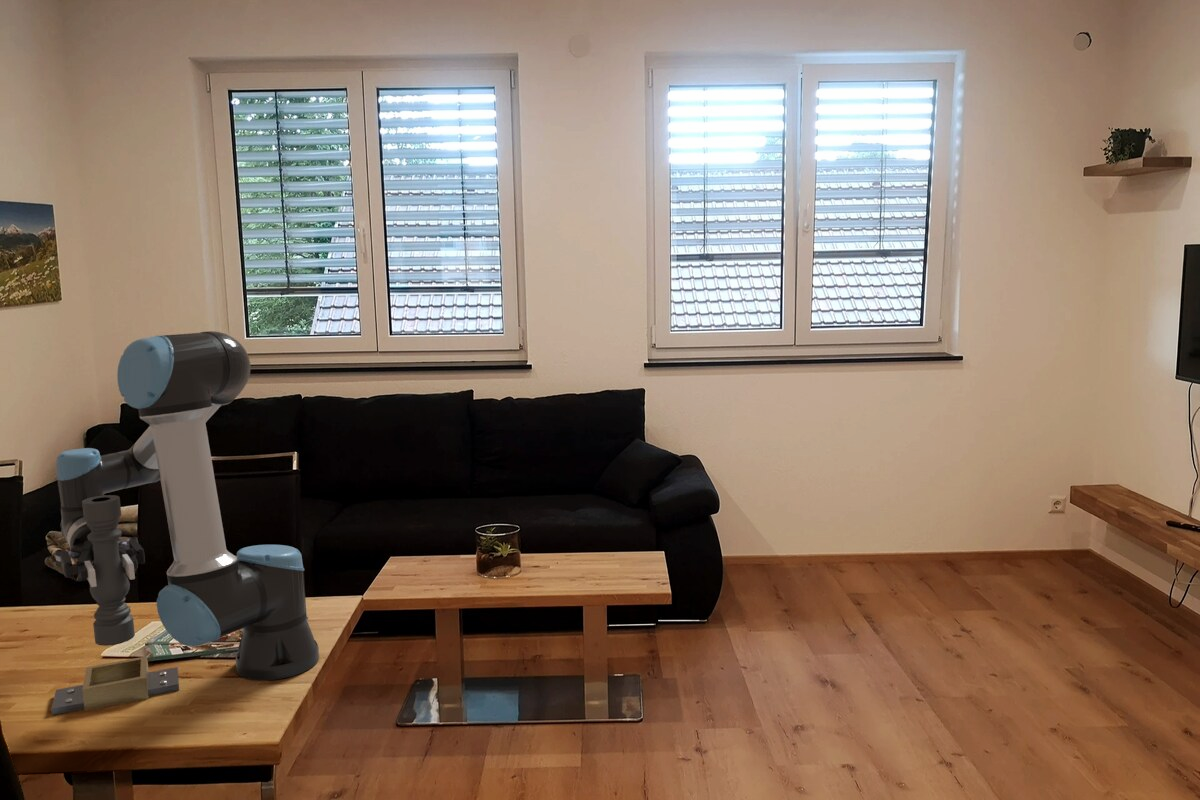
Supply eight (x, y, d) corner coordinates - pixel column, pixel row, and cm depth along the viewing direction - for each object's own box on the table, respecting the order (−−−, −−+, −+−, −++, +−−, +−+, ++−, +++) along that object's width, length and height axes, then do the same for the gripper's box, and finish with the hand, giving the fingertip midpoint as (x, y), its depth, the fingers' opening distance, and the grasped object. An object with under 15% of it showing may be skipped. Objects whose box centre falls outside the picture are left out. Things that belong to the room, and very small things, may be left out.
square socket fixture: (178, 670, 176) (176, 650, 175) (179, 692, 167) (177, 671, 166) (57, 693, 168) (54, 673, 167) (51, 717, 159) (49, 696, 158)
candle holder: (123, 645, 158) (109, 504, 154) (87, 645, 158) (72, 504, 154) (141, 630, 164) (128, 494, 160) (106, 631, 164) (92, 494, 160)
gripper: (147, 550, 179) (172, 584, 161) (38, 570, 169) (53, 609, 150) (143, 513, 178) (169, 543, 160) (34, 530, 168) (48, 565, 149)
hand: (112, 575), depth 155 cm, fingers closed on candle holder, 5 cm apart
